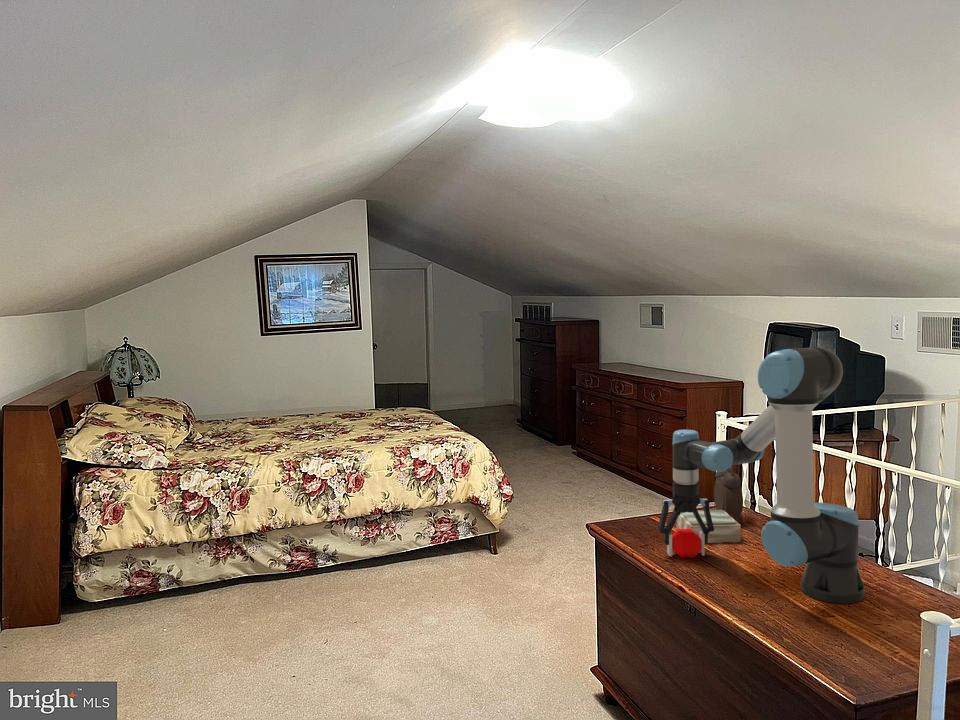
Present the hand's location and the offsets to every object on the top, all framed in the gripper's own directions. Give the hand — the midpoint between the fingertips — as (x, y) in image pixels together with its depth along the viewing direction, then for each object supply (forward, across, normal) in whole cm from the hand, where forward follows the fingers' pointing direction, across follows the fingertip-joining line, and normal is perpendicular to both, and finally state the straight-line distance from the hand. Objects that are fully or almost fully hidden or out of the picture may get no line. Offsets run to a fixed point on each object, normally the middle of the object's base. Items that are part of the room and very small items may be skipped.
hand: (685, 554), depth 224 cm
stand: (0, -12, -18) cm, 22 cm away
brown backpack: (+1, -24, -33) cm, 41 cm away
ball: (0, 0, 0) cm, 1 cm away
